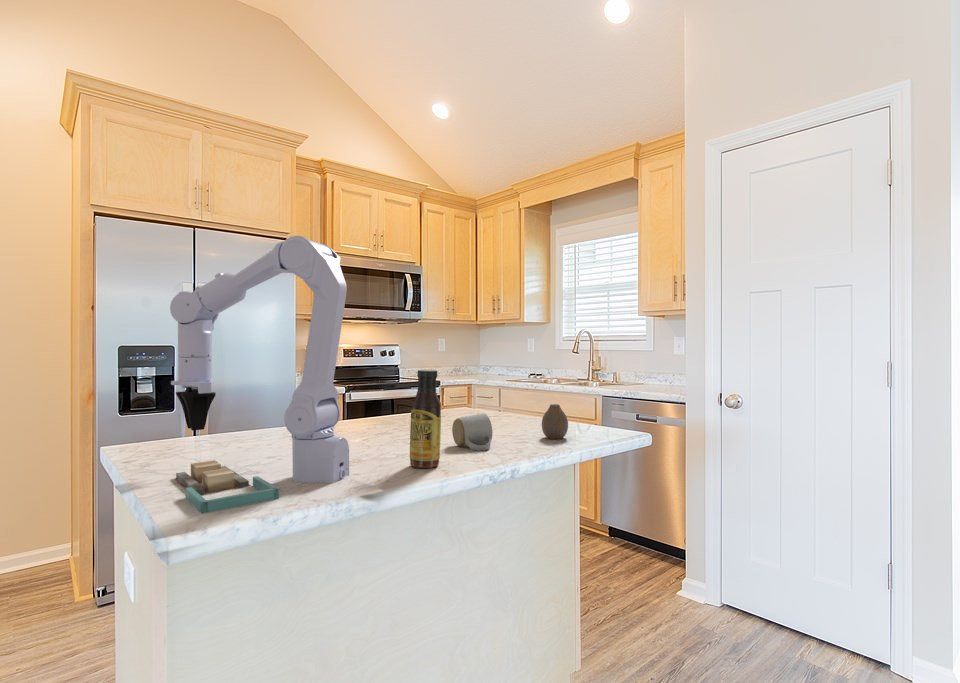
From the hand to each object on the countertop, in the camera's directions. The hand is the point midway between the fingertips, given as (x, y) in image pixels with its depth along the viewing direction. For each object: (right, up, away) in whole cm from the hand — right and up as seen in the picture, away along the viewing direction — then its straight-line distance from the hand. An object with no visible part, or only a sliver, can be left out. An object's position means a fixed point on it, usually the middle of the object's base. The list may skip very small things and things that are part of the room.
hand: (195, 428), depth 102 cm
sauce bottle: (+42, -9, +9) cm, 44 cm away
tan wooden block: (+10, -8, -11) cm, 17 cm away
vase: (+73, -9, +40) cm, 84 cm away
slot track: (+7, -9, -8) cm, 14 cm away
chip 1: (+5, -8, -5) cm, 11 cm away
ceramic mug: (+53, -9, +29) cm, 61 cm away
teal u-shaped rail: (+15, -10, -18) cm, 25 cm away
